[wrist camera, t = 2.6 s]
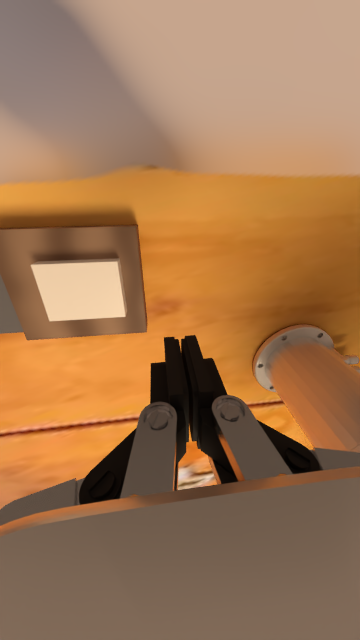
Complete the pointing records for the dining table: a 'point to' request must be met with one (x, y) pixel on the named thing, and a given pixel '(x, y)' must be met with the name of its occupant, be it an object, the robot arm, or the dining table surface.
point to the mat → (7, 313)
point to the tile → (81, 288)
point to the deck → (71, 244)
